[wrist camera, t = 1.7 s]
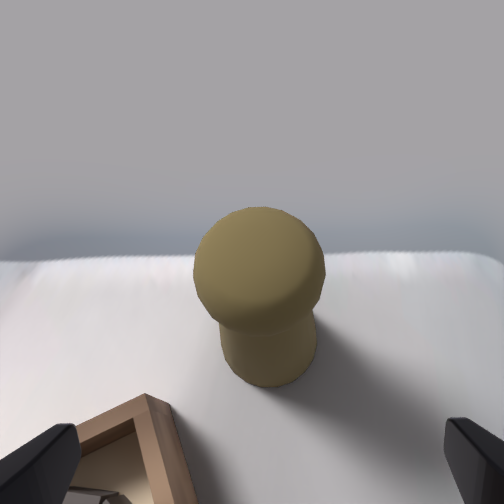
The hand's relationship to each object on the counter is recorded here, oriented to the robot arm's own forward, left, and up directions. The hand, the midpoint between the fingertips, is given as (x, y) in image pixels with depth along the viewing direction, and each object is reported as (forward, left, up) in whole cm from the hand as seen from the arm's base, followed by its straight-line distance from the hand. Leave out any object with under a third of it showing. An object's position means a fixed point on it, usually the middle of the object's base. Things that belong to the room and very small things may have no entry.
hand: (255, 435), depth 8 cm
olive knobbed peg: (+5, -2, -12) cm, 14 cm away
